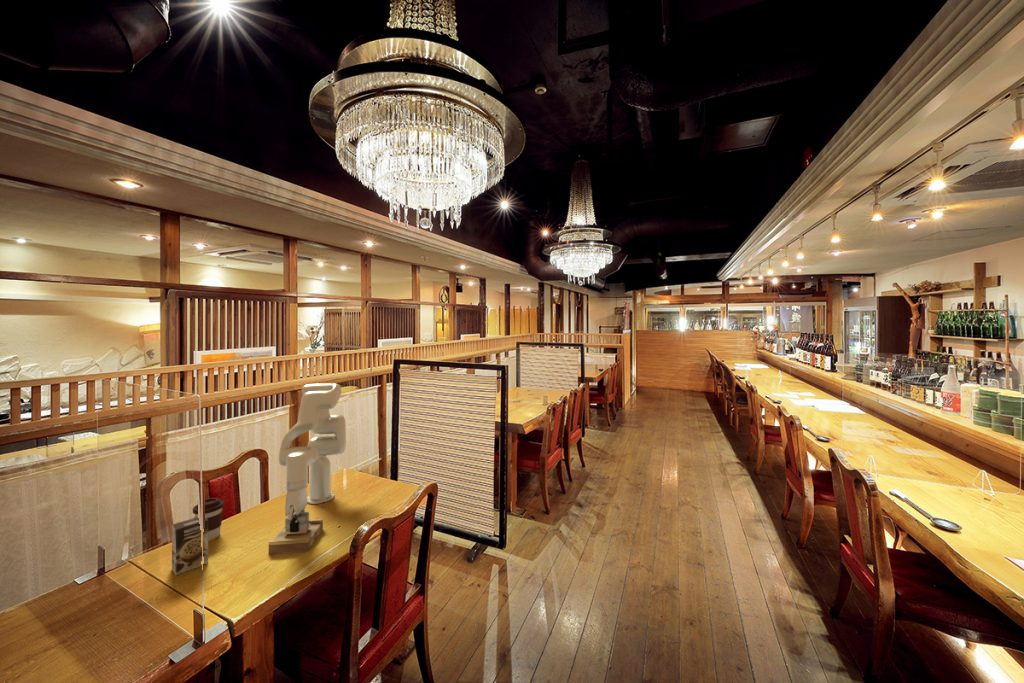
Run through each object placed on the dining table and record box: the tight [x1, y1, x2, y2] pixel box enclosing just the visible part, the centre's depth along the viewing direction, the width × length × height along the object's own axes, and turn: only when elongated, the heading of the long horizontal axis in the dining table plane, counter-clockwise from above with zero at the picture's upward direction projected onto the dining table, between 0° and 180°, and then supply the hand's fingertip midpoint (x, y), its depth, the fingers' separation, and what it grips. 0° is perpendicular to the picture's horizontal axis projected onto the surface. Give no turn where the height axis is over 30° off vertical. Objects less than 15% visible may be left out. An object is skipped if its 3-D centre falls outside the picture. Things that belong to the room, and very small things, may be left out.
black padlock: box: [284, 511, 310, 534], centre depth 150 cm, size 5×8×6 cm, turn 98°
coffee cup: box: [192, 497, 225, 542], centre depth 152 cm, size 10×10×15 cm
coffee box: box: [171, 517, 209, 576], centre depth 133 cm, size 9×6×16 cm
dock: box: [268, 518, 324, 555], centre depth 149 cm, size 16×14×5 cm
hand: (297, 527), depth 150 cm, fingers closed on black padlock, 4 cm apart
